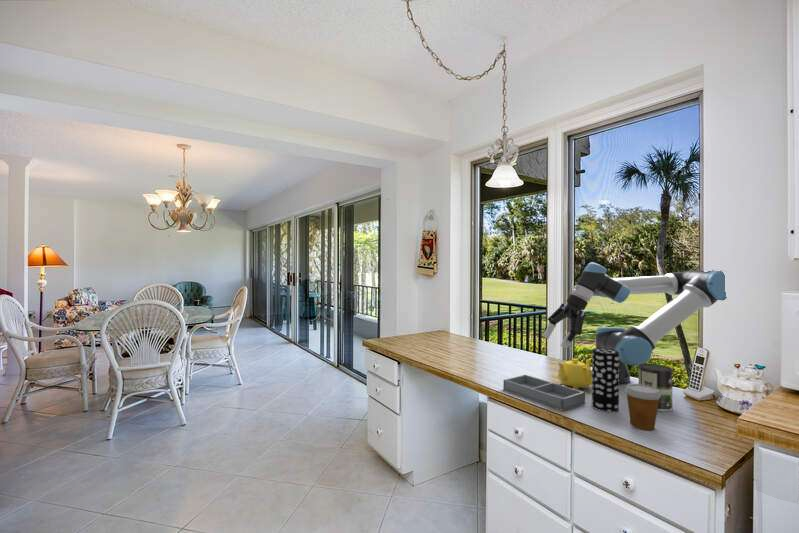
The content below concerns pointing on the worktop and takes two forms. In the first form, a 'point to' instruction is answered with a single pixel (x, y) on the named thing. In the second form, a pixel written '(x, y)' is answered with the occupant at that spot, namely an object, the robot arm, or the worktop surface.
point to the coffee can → (658, 382)
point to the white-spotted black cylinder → (605, 379)
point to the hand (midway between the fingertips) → (553, 342)
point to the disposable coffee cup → (642, 405)
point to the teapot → (575, 373)
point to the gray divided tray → (545, 392)
